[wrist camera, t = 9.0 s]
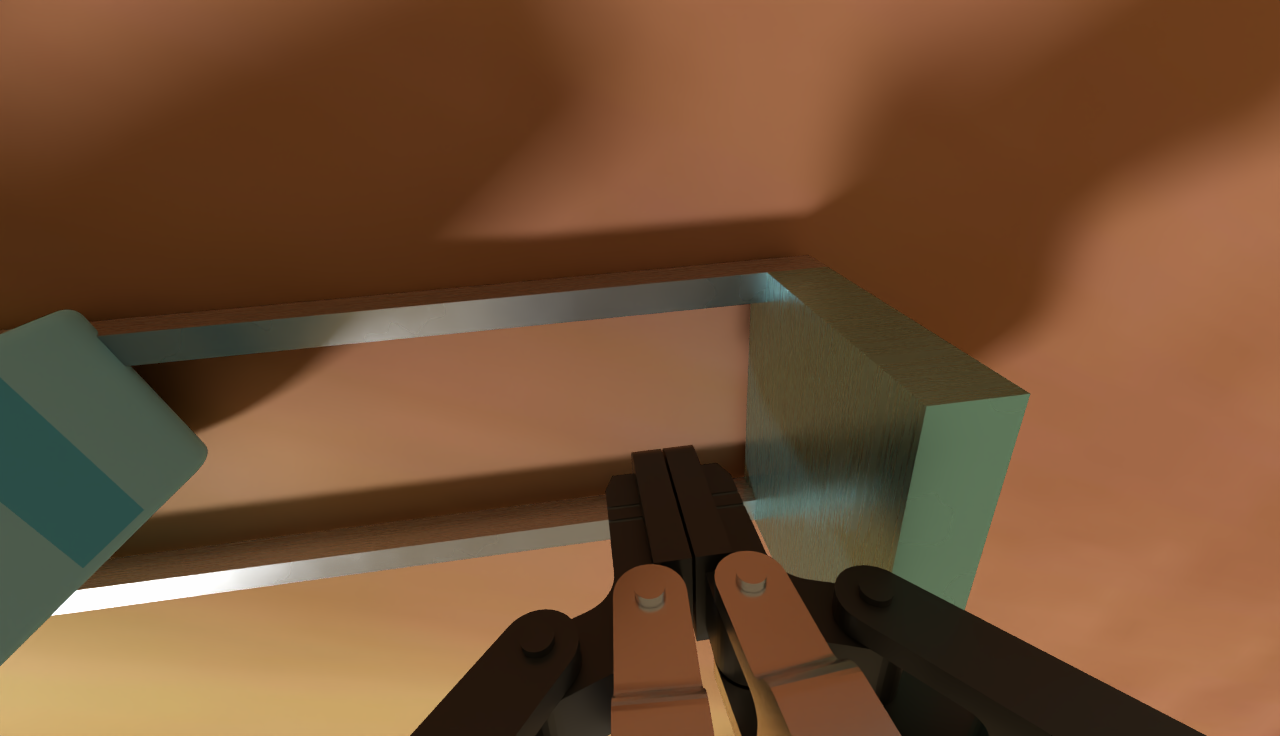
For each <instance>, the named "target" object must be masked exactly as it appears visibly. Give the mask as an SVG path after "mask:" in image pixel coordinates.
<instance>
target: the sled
mask: <svg viewBox="0 0 1280 736" xmlns="http://www.w3.org/2000/svg"><path fill="white" fill-rule="evenodd" d="M743 304H751V311H750V338H749V366H748V393H747V421H746V448H745V476H744V477H738V478H733V481H734V483H735V485H736V487H737V490H738V493H739V494H740V496H741V498H742V501H743V504H744V506H745V507H746V510H747V512H748V514H749V516H750V519H751V520H755V521H756V523H757V525H758V527H759V530H760V532H761V534H762V536H763V538H764V541H765V543H766V545H767V547H768V549H769V551H770V554H771V556H772V558H773V559H775V560H776V561H777V562H778V563H779V564H780V565H781V566H782V567H783V568H784V570H785V571H786V572H787V573H789V574H791V575H794V576H796V577H800V578H804V579H809V580H816V581H824V582H832V583H835V582H836V578H837V577H838V575H839V574H840V573H841V572H842V571H844V570H845V569H847V568H849V567H852V566H857V565H869V566H875V567H879V568H882V569H885V570H887V571H889V572H891V573H893V574H895V575H897V576H899V577H901V578H903V579H905V580H907V581H909V582H911V583H913V584H915V585H917V586H919V587H920V588H922V589H924V590H926V591H928V592H930V593H932V594H934V595H936V596H938V597H940V598H942V599H944V600H946V601H947V602H949V603H951V604H953V605H955V606H957V607H959V608H961V609H963V610H965V607H966V603H967V600H968V597H969V594H970V590H971V587H972V584H973V580H974V577H975V574H976V571H977V567H978V564H979V561H980V557H981V554H982V551H983V548H984V544H985V541H986V538H987V534H988V531H989V528H990V525H991V521H992V518H993V515H994V511H995V508H996V505H997V502H998V498H999V495H1000V492H1001V488H1002V485H1003V482H1004V479H1005V475H1006V472H1007V469H1008V465H1009V462H1010V459H1011V455H1012V452H1013V449H1014V446H1015V442H1016V439H1017V436H1018V432H1019V429H1020V426H1021V423H1022V419H1023V416H1024V413H1025V409H1026V406H1027V403H1028V400H1029V396H1030V393H1028V392H1027V391H1025V390H1023V389H1022V388H1020V387H1019V386H1017V385H1015V384H1014V383H1012V382H1011V381H1009V380H1007V379H1006V378H1004V377H1003V376H1001V375H999V374H998V373H996V372H995V371H993V370H992V369H990V368H988V367H987V366H985V365H984V364H982V363H980V362H979V361H977V360H976V359H974V358H972V357H971V356H969V355H968V354H966V353H964V352H963V351H961V350H960V349H958V348H956V347H955V346H953V345H952V344H950V343H948V342H947V341H945V340H944V339H942V338H940V337H939V336H937V335H936V334H934V333H932V332H931V331H929V330H928V329H926V328H924V327H923V326H921V325H920V324H918V323H916V322H915V321H913V320H912V319H910V318H908V317H907V316H905V315H904V314H902V313H900V312H899V311H897V310H896V309H894V308H892V307H891V306H889V305H888V304H886V303H884V302H883V301H881V300H880V299H878V298H876V297H875V296H873V295H872V294H870V293H868V292H867V291H865V290H864V289H862V288H860V287H859V286H857V285H856V284H854V283H852V282H851V281H849V280H848V279H846V278H844V277H843V276H841V275H840V274H838V273H836V272H835V271H833V270H832V269H830V268H828V267H827V266H825V265H824V264H822V263H820V262H819V261H817V260H816V259H814V258H812V257H811V256H809V255H803V256H792V257H781V258H771V259H760V260H749V261H738V262H728V263H717V264H706V265H695V266H684V267H674V268H663V269H652V270H641V271H631V272H620V273H609V274H598V275H587V276H577V277H566V278H555V279H544V280H534V281H523V282H512V283H501V284H490V285H480V286H469V287H458V288H447V289H437V290H426V291H415V292H404V293H393V294H383V295H372V296H361V297H350V298H340V299H329V300H318V301H307V302H296V303H286V304H275V305H264V306H253V307H243V308H232V309H221V310H210V311H199V312H189V313H178V314H167V315H156V316H146V317H135V318H124V319H113V320H103V321H92V322H90V323H91V324H92V325H93V326H94V327H95V329H96V330H97V331H98V335H97V337H98V338H99V340H100V341H101V342H102V343H103V344H104V345H105V346H106V347H107V348H108V349H109V350H110V351H111V352H112V353H113V354H114V355H115V356H116V357H117V358H118V359H119V360H120V362H121V363H122V364H123V365H124V366H134V365H144V364H154V363H164V362H174V361H183V360H193V359H203V358H213V357H223V356H233V355H243V354H253V353H263V352H273V351H283V350H293V349H303V348H313V347H323V346H333V345H343V344H353V343H363V342H373V341H383V340H393V339H403V338H413V337H423V336H433V335H443V334H453V333H463V332H473V331H483V330H493V329H503V328H513V327H523V326H533V325H543V324H553V323H563V322H573V321H583V320H593V319H603V318H613V317H623V316H633V315H643V314H653V313H663V312H673V311H683V310H693V309H703V308H713V307H723V306H733V305H743ZM9 330H12V329H6V330H0V334H2V333H4V332H7V331H9ZM609 539H610V530H609V521H608V511H607V502H606V495H599V496H591V497H583V498H576V499H568V500H560V501H552V502H545V503H537V504H529V505H521V506H514V507H506V508H498V509H490V510H483V511H475V512H467V513H459V514H452V515H444V516H436V517H428V518H421V519H413V520H405V521H397V522H390V523H382V524H374V525H366V526H359V527H351V528H343V529H335V530H328V531H320V532H312V533H304V534H297V535H289V536H281V537H273V538H265V539H258V540H250V541H242V542H234V543H227V544H219V545H211V546H203V547H196V548H188V549H180V550H172V551H165V552H157V553H149V554H141V555H134V556H126V557H118V558H110V559H108V560H107V561H106V562H105V563H104V564H103V565H102V566H101V567H100V568H99V569H98V570H97V571H96V572H95V573H94V574H93V575H92V576H91V577H90V578H89V579H88V580H87V581H86V582H85V583H84V584H83V585H82V586H81V587H80V588H79V589H78V590H77V591H76V592H75V593H74V594H72V595H71V596H70V597H69V598H68V599H67V600H66V601H65V602H64V603H63V604H62V605H61V606H60V607H59V608H58V609H57V610H56V611H55V612H54V613H53V614H52V615H59V614H66V613H74V612H81V611H88V610H96V609H103V608H110V607H118V606H125V605H132V604H140V603H147V602H154V601H162V600H169V599H176V598H184V597H191V596H198V595H206V594H213V593H220V592H228V591H235V590H242V589H250V588H257V587H264V586H272V585H279V584H286V583H294V582H301V581H308V580H316V579H323V578H330V577H338V576H345V575H352V574H360V573H367V572H374V571H382V570H389V569H396V568H404V567H411V566H418V565H426V564H433V563H440V562H448V561H455V560H462V559H470V558H477V557H484V556H492V555H499V554H506V553H514V552H521V551H528V550H536V549H543V548H550V547H558V546H565V545H572V544H580V543H587V542H594V541H602V540H609ZM52 615H51V616H52Z"/></svg>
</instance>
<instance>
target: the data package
mask: <svg viewBox="0 0 1280 736" xmlns="http://www.w3.org/2000/svg"><path fill="white" fill-rule="evenodd" d="M97 335H98V331H97V330H96V329H95V327H94V326H93V325H92V324H91V323H90V322H89V321H88V320H87V319H86V318H85V317H84V316H83V315H82V314H81V313H79V312H77V311H74V310H60V311H57V312H54V313H52V314H49V315H46V316H44V317H41V318H39V319H36V320H34V321H32V322H29V323H27V324H24V325H22V326H19V327H17V328H14V329H12V330H9V331H7V332H4V333H2V334H0V666H1V665H2V664H3V663H4V662H5V661H6V660H7V659H8V658H9V657H10V656H11V655H12V654H13V653H14V652H15V651H16V650H17V649H18V648H19V647H20V646H21V645H22V644H23V643H24V642H25V641H26V640H27V639H28V638H29V637H30V636H31V635H32V634H33V633H34V632H35V631H36V630H37V629H38V628H39V627H40V626H41V625H42V624H43V623H44V622H45V621H46V620H47V619H48V618H49V617H50V616H51V615H52V614H53V613H54V612H55V611H56V610H57V609H58V608H59V607H60V606H61V605H62V604H63V603H64V602H65V601H66V600H67V599H68V598H69V597H70V596H71V595H72V594H74V593H75V592H76V591H77V590H78V589H79V588H80V587H81V586H82V585H83V584H84V583H85V582H86V581H87V580H88V579H89V578H90V577H91V576H92V575H93V574H94V573H95V572H96V571H97V570H98V569H99V568H100V567H101V566H102V565H103V564H104V563H105V562H106V561H107V560H108V559H109V558H110V557H111V556H112V555H113V554H114V553H115V552H116V551H117V550H118V549H119V548H120V547H121V546H122V545H123V544H124V543H125V542H126V541H127V540H128V539H129V538H130V537H131V536H132V535H133V534H134V533H135V532H136V531H137V530H138V529H139V528H140V527H141V526H142V525H143V524H144V523H145V522H146V521H147V520H148V519H149V518H150V517H151V516H152V515H153V514H154V513H155V512H156V511H157V510H158V509H159V508H160V507H161V506H162V505H163V504H164V503H165V502H166V501H167V500H168V499H169V498H170V497H172V496H173V495H174V494H175V493H176V492H177V491H178V490H179V489H180V488H181V487H182V486H183V485H184V484H185V483H186V482H187V481H188V480H189V479H190V478H191V477H192V476H193V475H194V474H195V473H196V472H197V471H198V470H199V468H200V467H201V466H202V465H203V463H204V461H205V460H206V457H207V454H208V450H207V447H206V445H205V444H204V443H203V442H202V441H201V440H200V439H199V438H198V437H197V435H196V434H195V433H194V432H193V431H192V430H191V429H190V428H189V427H188V426H187V425H186V424H185V423H184V422H183V421H182V420H181V419H180V417H179V416H178V415H177V414H176V413H175V412H174V411H173V410H172V409H171V408H170V407H169V406H168V405H167V404H166V403H165V402H164V401H163V399H162V398H161V397H160V396H159V395H158V394H157V393H156V392H155V391H154V390H153V389H152V388H151V387H150V386H149V385H148V384H147V383H146V381H145V380H144V379H143V378H142V377H141V376H140V375H139V374H138V373H137V372H136V371H135V370H134V369H133V368H132V367H131V366H124V365H123V364H122V363H121V362H120V360H119V359H118V358H117V357H116V356H115V355H114V354H113V353H112V352H111V351H110V350H109V349H108V348H107V347H106V346H105V345H104V344H103V343H102V342H101V341H100V340H99V338H98V337H97Z"/></svg>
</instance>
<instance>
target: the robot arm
mask: <svg viewBox="0 0 1280 736" xmlns="http://www.w3.org/2000/svg"><path fill="white" fill-rule="evenodd" d="M631 458H632V472H633V474H625V475H617V476H612V478H611V480H610V482H609V485H608V487H607V489H606V491H605V492H606V502H607V511H608V521H609V530H610V539H611V549H612V558H613V567H614V583H613V586H612V589H611V591H610V592H609V594H608V595H607V597H606V598H605V599H604V600H603V601H602V602H601V603H600V604H599V605H598V606H596V607H595V608H593V609H592V610H590V611H588V612H586V613H584V614H581V615H579V616H577V617H575V618H573V619H570V618H569V617H568V616H567V615H565V614H564V613H561V612H559V611H555V610H547V609H545V610H537V611H533V612H530V613H527V614H525V615H523V616H521V617H520V618H518V619H517V620H515V621H514V622H513V623H512V624H511V625H510V626H509V627H508V628H507V629H506V630H505V631H504V632H503V633H502V634H501V636H500V637H499V638H498V639H497V640H496V641H495V642H494V643H493V644H492V646H491V647H490V648H489V649H488V650H487V651H486V652H485V653H484V654H483V656H482V657H481V658H480V659H479V660H478V661H477V662H476V663H475V664H474V666H473V667H472V668H471V669H470V670H469V671H468V672H467V673H466V674H465V675H464V677H463V678H462V679H461V680H460V681H459V682H458V683H457V684H456V685H455V687H454V688H453V689H452V690H451V691H450V692H449V693H448V694H447V695H446V697H445V698H444V699H443V700H442V701H441V702H440V703H439V704H438V705H437V707H436V708H435V709H434V710H433V711H432V712H431V713H430V714H429V715H428V717H427V718H426V719H425V720H424V721H423V722H422V723H421V724H420V725H419V726H418V728H417V729H416V730H415V731H414V732H413V733H412V734H411V735H410V736H608V735H610V734H611V736H714V731H713V725H712V719H711V713H710V707H709V701H708V696H707V692H706V689H705V688H703V686H702V681H701V675H700V668H699V662H698V656H697V650H696V643H695V637H694V632H695V636H696V640H697V641H700V640H707V639H710V643H711V647H712V650H713V654H714V676H715V680H716V682H717V685H718V688H719V691H720V694H721V697H722V700H723V703H724V706H725V709H726V711H727V714H728V717H729V720H730V723H731V726H732V729H733V732H734V735H735V736H1206V735H1204V734H1202V733H1200V732H1198V731H1196V730H1194V729H1193V728H1191V727H1189V726H1187V725H1185V724H1183V723H1181V722H1179V721H1177V720H1175V719H1173V718H1171V717H1169V716H1167V715H1166V714H1164V713H1162V712H1160V711H1158V710H1156V709H1154V708H1152V707H1150V706H1148V705H1146V704H1144V703H1142V702H1140V701H1139V700H1137V699H1135V698H1133V697H1131V696H1129V695H1127V694H1125V693H1123V692H1121V691H1119V690H1117V689H1115V688H1113V687H1111V686H1110V685H1108V684H1106V683H1104V682H1102V681H1100V680H1098V679H1096V678H1094V677H1092V676H1090V675H1088V674H1086V673H1084V672H1083V671H1081V670H1079V669H1077V668H1075V667H1073V666H1071V665H1069V664H1067V663H1065V662H1063V661H1061V660H1059V659H1057V658H1056V657H1054V656H1052V655H1050V654H1048V653H1046V652H1044V651H1042V650H1040V649H1038V648H1036V647H1034V646H1032V645H1030V644H1029V643H1027V642H1025V641H1023V640H1021V639H1019V638H1017V637H1015V636H1013V635H1011V634H1009V633H1007V632H1005V631H1003V630H1001V629H1000V628H998V627H996V626H994V625H992V624H990V623H988V622H986V621H984V620H982V619H980V618H978V617H976V616H974V615H973V614H971V613H969V612H967V611H965V610H963V609H961V608H959V607H957V606H955V605H953V604H951V603H949V602H947V601H946V600H944V599H942V598H940V597H938V596H936V595H934V594H932V593H930V592H928V591H926V590H924V589H922V588H920V587H919V586H917V585H915V584H913V583H911V582H909V581H907V580H905V579H903V578H901V577H899V576H897V575H895V574H893V573H891V572H889V571H887V570H885V569H882V568H879V567H875V566H869V565H857V566H852V567H849V568H847V569H845V570H844V571H842V572H841V573H840V574H839V575H838V577H837V578H836V582H835V583H832V582H824V581H816V580H809V579H804V578H800V577H796V576H794V575H791V574H789V573H787V572H786V571H785V570H784V568H783V567H782V566H781V565H780V564H779V563H778V562H777V561H776V560H775V559H773V558H771V557H770V556H768V555H767V554H766V552H765V550H764V547H763V545H762V543H761V541H760V539H759V536H758V534H757V532H756V530H755V527H754V525H753V523H752V521H751V519H750V516H749V514H748V512H747V510H746V507H745V506H744V504H743V501H742V498H741V496H740V494H739V493H738V490H737V487H736V485H735V483H734V481H733V478H732V476H731V475H730V474H729V473H728V472H727V471H726V470H724V469H723V468H722V467H721V466H720V465H718V464H717V463H712V464H704V465H700V462H699V460H698V457H697V455H696V452H695V449H694V447H693V445H688V446H680V447H672V448H663V450H661V449H656V450H648V451H640V452H632V453H631ZM693 628H694V631H693Z"/></svg>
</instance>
